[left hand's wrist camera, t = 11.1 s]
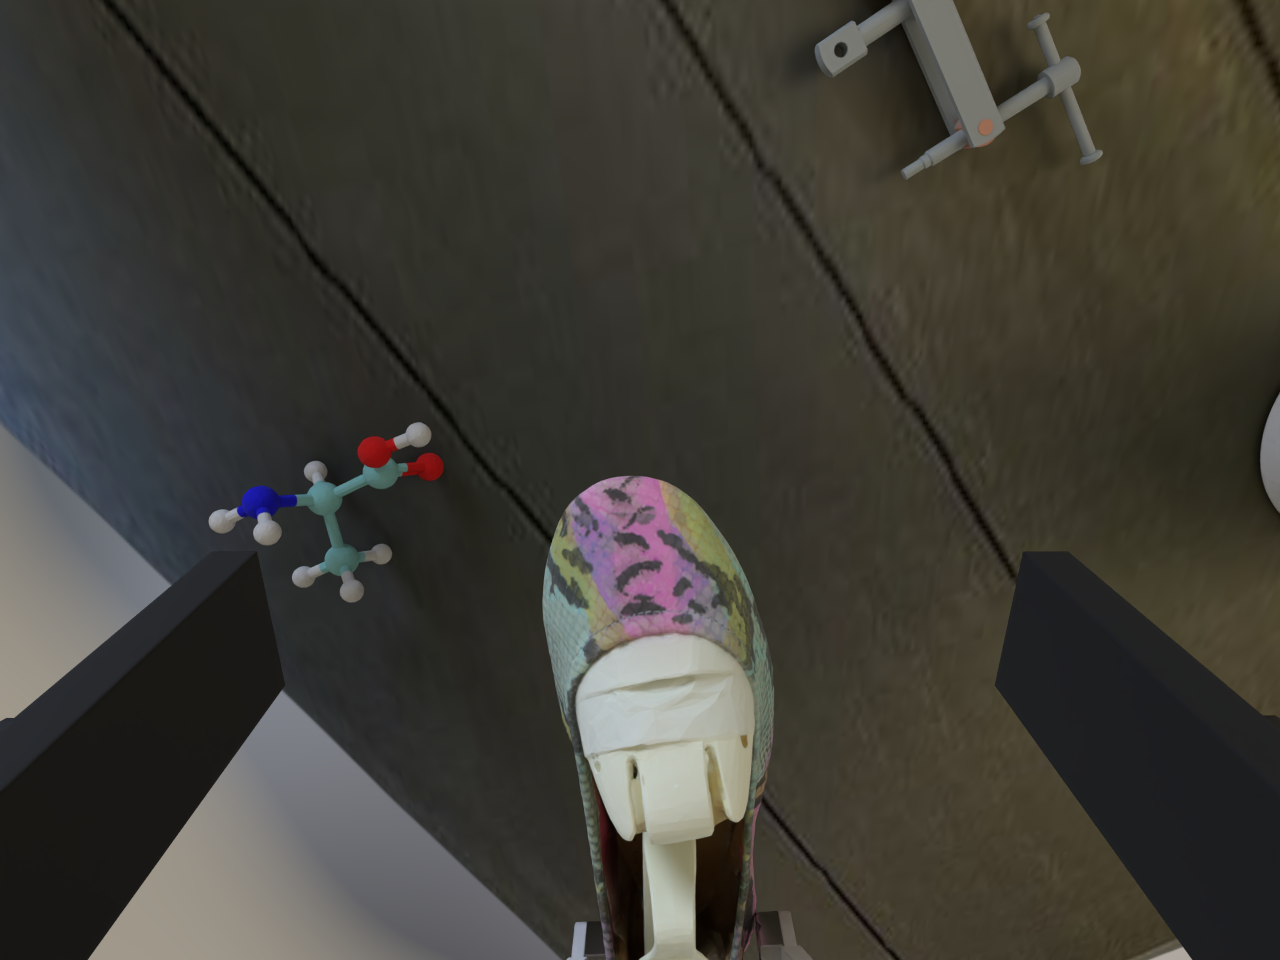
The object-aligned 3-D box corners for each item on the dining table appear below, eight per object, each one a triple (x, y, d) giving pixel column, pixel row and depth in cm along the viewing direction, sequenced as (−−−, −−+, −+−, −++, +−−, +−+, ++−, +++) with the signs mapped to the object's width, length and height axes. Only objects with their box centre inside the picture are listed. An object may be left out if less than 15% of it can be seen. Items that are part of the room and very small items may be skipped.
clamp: (782, -34, 32) (996, -185, 30) (774, -19, 34) (973, -161, 33) (925, 268, 37) (1119, 152, 35) (910, 264, 39) (1092, 154, 37)
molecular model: (442, 632, 42) (298, 654, 33) (329, 574, 46) (173, 579, 37) (503, 443, 42) (374, 413, 33) (383, 400, 46) (239, 362, 37)
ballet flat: (760, 452, 27) (805, 560, 19) (773, 928, 35) (807, 1142, 27) (534, 468, 27) (482, 580, 19) (600, 935, 36) (583, 1148, 28)
